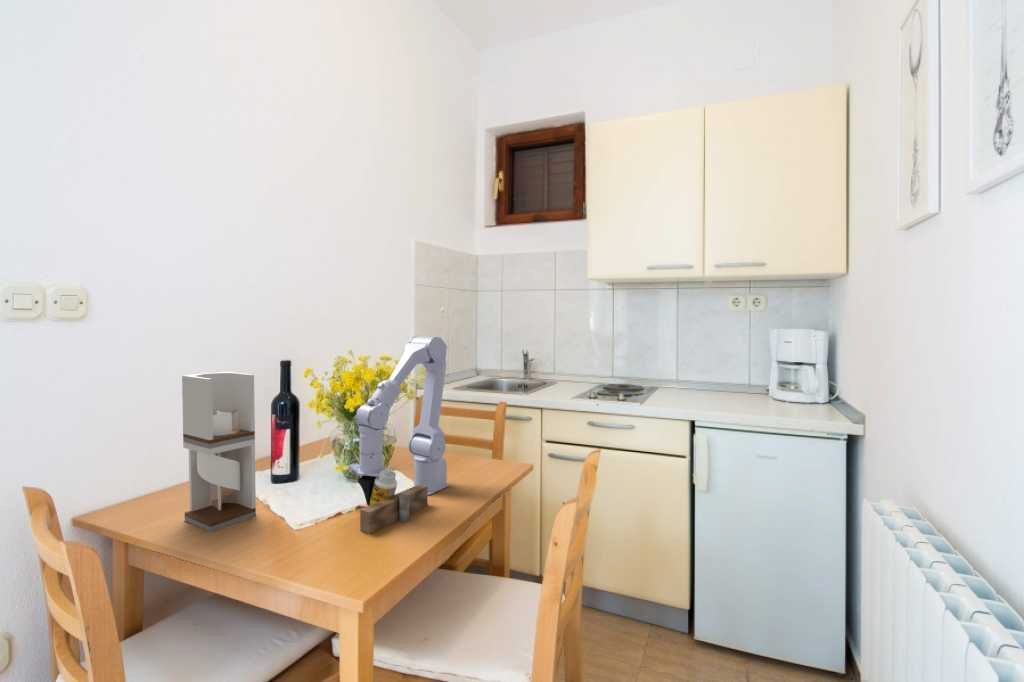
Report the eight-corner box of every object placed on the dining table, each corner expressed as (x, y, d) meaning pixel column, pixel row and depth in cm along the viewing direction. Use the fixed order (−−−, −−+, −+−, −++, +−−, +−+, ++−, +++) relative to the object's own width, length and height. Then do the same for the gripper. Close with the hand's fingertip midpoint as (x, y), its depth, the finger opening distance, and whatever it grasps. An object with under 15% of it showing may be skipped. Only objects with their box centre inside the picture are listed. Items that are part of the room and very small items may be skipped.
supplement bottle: (363, 508, 119) (371, 471, 118) (379, 500, 124) (387, 465, 122) (379, 518, 117) (388, 481, 115) (395, 510, 122) (403, 474, 120)
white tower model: (184, 520, 114) (182, 375, 113) (229, 506, 123) (227, 371, 122) (210, 532, 108) (207, 379, 107) (255, 515, 118) (254, 374, 116)
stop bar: (418, 502, 127) (418, 480, 127) (434, 507, 124) (434, 484, 124) (360, 530, 110) (360, 505, 110) (377, 536, 107) (377, 510, 107)
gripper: (339, 451, 122) (339, 503, 122) (380, 460, 114) (379, 515, 115) (360, 445, 128) (360, 494, 128) (400, 453, 120) (400, 506, 121)
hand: (371, 504), depth 122 cm, fingers closed
